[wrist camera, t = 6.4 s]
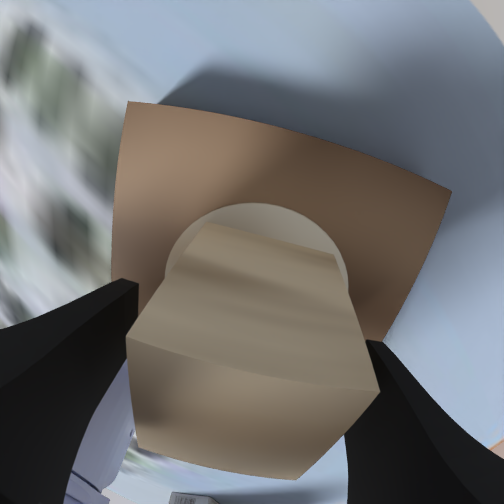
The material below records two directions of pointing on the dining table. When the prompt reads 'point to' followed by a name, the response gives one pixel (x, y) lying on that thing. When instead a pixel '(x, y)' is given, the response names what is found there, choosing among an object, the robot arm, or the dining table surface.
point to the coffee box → (190, 499)
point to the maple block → (248, 357)
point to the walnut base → (269, 202)
